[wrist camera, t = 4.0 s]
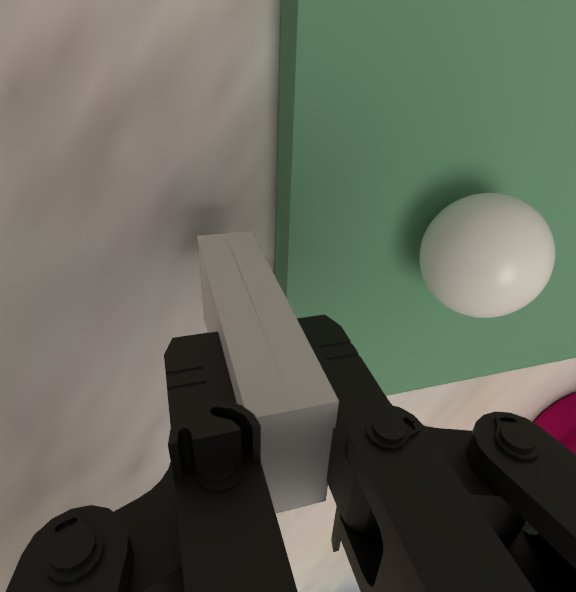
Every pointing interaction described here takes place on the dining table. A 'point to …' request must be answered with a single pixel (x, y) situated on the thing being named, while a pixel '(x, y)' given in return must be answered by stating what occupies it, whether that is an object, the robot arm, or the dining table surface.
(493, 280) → the ball
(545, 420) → the pepper mill
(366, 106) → the putting mat
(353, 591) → the dining table surface
